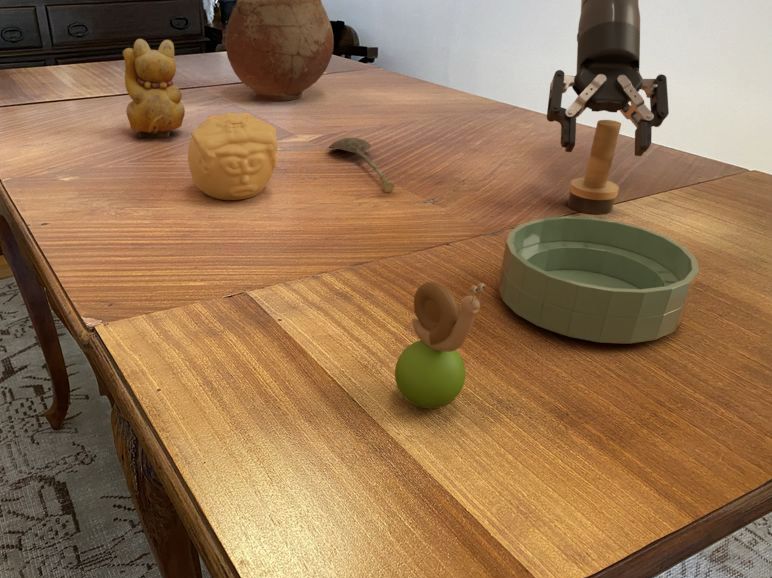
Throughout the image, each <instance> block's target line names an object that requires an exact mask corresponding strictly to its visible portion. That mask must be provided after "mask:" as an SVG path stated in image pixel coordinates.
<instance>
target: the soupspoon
mask: <svg viewBox="0 0 772 578" xmlns="http://www.w3.org/2000/svg"><path fill="white" fill-rule="evenodd" d="M370 148H372V144H371V143H370V142H368V141H366V140H364V139H362V138H357V137H345V138H341V139H338V140H336V141H334V142H333V143H331V144H330V145H329V146H328V149H338V150H342V151H346V152H349V153H353V154H356V155H357V156H359V157H360V158H361V159H363V160H364V162H366V163H367V164H368V165H369V166H370V168H372V170H373V171H374V172H375V173H376V174H377V175H378V176H379V180H380V181H381V184H382V187H381V190H382V192H384V193H387V194H388V193H392V192H393V190H394V189H395V188H396V185H395V183H394V182H392V181H390V180H389V179H388V177H387V175H386V174H384V173H383V172H382V170H381V169H380V168H379V166H377V165H376V163H374V161H372V160H371V158H370V157H369V156H368V155H366V154H365V152H367V151H368V150H370Z"/></svg>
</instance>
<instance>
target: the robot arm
mask: <svg viewBox="0 0 772 578" xmlns="http://www.w3.org/2000/svg"><path fill="white" fill-rule="evenodd" d="M576 42H577V49H576V50H577V51H576V53H577V54H576V74H575V75H568V74H567V75H566V74H565V71H564V70H562V69H558V70H556V71H555V72H554V74H553V77H552V78H551V79H552V80H551V82H550V86H549V94H548V102H547V110H546V120H547V121H548V122H550V123H551V122H552V123H553V122H556V123H558V124H559V125H560V146H561V148H565V149H564V151H565V153H572V152H573V150H574V149H575V146H576V135H577V118H579V117H580V116H581V115H582V113H584V112H585V110H586V109H587V108H588V109H589V110H591V112H598V113H599V112H603V111H605V112H608V113H616V114H617V113H618V112H620V113H621V114H622V116H623V117H624V118H625V119H626V120H629V121H631V123H632V124H633V125H634V126H635V127H636V129H635V130H634V157H642V156H643V155H644V153H646V152H648V149H649V148H650V146H651V144H652V134H653V133H652V130H653V129H652V128H653V127H655V128H659V127H661V126H662V124H663V122H664V121H665V119H666V118H667V117H668V116H669V114H670V113H669V112H670V111H669V110H670V109H669V96H668V95H669V94H668V79H667V76H666V75H665V74H662V73H661V74H658V75H657V76H656V78H643V77H642V75H641V72H640V65H641V63H640V62H641V61H640V59H641V57H640V56H641V54H640V53H641V13H640V5H639V0H580V16H579V21H578V27H577V35H576ZM570 87H571V89H572V90H573V91H574V92H575V94H576V95H577V97H576V98H575V100H574V101H573V102H572V103H571V104H570V105H569V107H568V108H565V107H562V100H563V94H565V93H566V92H567V90H568V89H569V88H570ZM640 90H642V91H643V92H644V93H645V96H646V98H647V99H649V105H650V108H649V107H648V106H647V105H646V104H645V99H644V98H643V96H642V95H641V94H640V93H639V92H640Z"/></svg>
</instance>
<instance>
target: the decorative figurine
mask: <svg viewBox="0 0 772 578" xmlns="http://www.w3.org/2000/svg"><path fill="white" fill-rule="evenodd" d="M122 57H123V58H124V65H125V66H124V86H125V88H126V89H125V90H126V91H127V94H128V96H129V97H130V99H131V100H132V101H130V102H128V104H127V106H126V111H125V113H126V117H127V119H128V122H129V126H130V129H132V131H135V132H138V136H139V137H138V138H139V139H145V138H146V139H147V138H153V139H154V138H155V139H156V138H169V137H170V134H172V131H174V130H177V129H179V128H181V127H182V125H183V122H184V121H183V120H184V118H185V113H186V111H185V110H186V109H185V105H184V104H183V103H182V101H181V100H182V98H183V94H182V91H181V90H180V89H179V88H178V87H177V86H176V85H174V81H173V79H174V77H175V75H176V71H177V65H176V64H177V63H176V60H175V45H174V43H173V41H172V40H170V39H165V40H163V41H161V43H160V45H159V47H158V49H151V48H150V45H149V44H148V42H147V41H146V40H145V39H143V38H138V39H136V40H135V42H134V43H133V47H127V48H125V49H123V50H122Z"/></svg>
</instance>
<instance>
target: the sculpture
mask: <svg viewBox="0 0 772 578" xmlns="http://www.w3.org/2000/svg"><path fill="white" fill-rule="evenodd" d="M277 137H278V136H277V129H276V127H275V126H274V125H273V124H271V123H268V122H266V121H264V120H262V119H260V118H256V117H255V116H253V115H252V113H249V112H243V113H235V112H232V111H228V112H226V113H224V114H218V115H214V114H213V115H209V116H208V117H207V118H206V120H205V121H203V122H202V123H200V124H199V125H198V126H197V127H196V129H194V130H193V132H191V138H190V140H189V143H188V149H187V163H188V169H189V172H190V175H191V177H192V180H193V182H194V183H195V185H196V186H197V187H198V189H199V190H200V191H201V192H203V194H205V195H207V196H209V197H212V198H214V199H217V200H221V201H222V200H224V201H238V200H240V201H241V200H246V199H250V198H254V197H255V196H257V195H259V194H260V193H261V192H263V190H264V189H265V188H266V187H267V185H268V184H269V182H270V180H271V178H272V175H273V173H274V170H275V168H276V167H277V166H278V156H277V155H278V138H277Z"/></svg>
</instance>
